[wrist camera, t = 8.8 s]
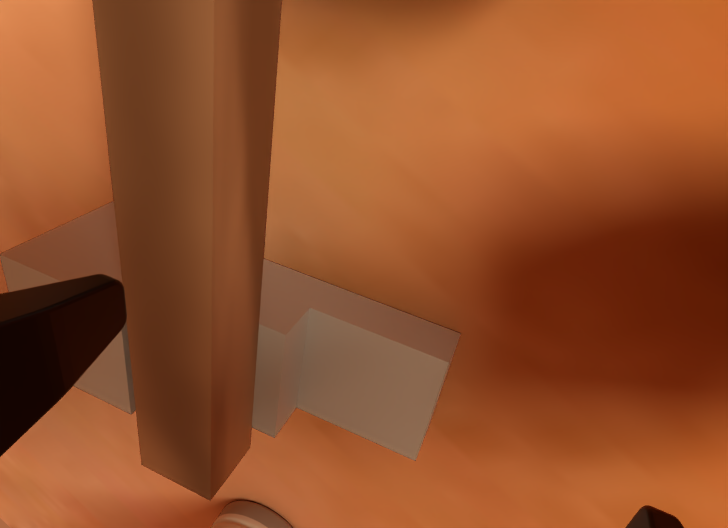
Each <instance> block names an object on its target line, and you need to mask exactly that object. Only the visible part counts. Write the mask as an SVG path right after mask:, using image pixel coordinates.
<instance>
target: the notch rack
mask: <svg viewBox="0 0 728 528" xmlns="http://www.w3.org/2000/svg"><path fill="white" fill-rule="evenodd" d="M0 259H1V263H2V267H3V271H4V275H5V279H6V283H7V287H8V291H9V292H12V291H17V290H22V289H27V288H31V287H36V286H41V285H46V284H51V283H56V282H61V281H66V280H70V279H75V278H80V277H85V276H90V275H95V274H105V275H107V276H110V277H112V278H114V279H117V280H119V281H120V282H122V275H121V265H120V256H119V246H118V237H117V228H116V218H115V209H114V202H111V203H108V204H106V205H104V206H102V207H100V208H98V209H95V210H93V211H91V212H89V213H87V214H85V215H83V216H80V217H78V218H76V219H74V220H72V221H70V222H68V223H65V224H63V225H61V226H59V227H57V228H55V229H52V230H50V231H48V232H46V233H44V234H42V235H40V236H37V237H35V238H33V239H31V240H29V241H27V242H24V243H22V244H20V245H18V246H16V247H14V248H12V249H9V250H7V251H5V252H3V253H1V254H0ZM460 335H461V333H458V332H455V331H453V330H450V329H447V328H445V327H442V326H440V325H437V324H434V323H432V322H429V321H426V320H424V319H421V318H418V317H416V316H413V315H411V314H408V313H405V312H403V311H400V310H397V309H395V308H392V307H390V306H387V305H384V304H382V303H379V302H376V301H374V300H371V299H368V298H366V297H363V296H361V295H358V294H355V293H353V292H350V291H347V290H345V289H342V288H340V287H337V286H334V285H332V284H329V283H326V282H324V281H321V280H319V279H316V278H313V277H311V276H308V275H305V274H303V273H300V272H297V271H295V270H292V269H290V268H287V267H284V266H282V265H279V264H276V263H274V262H271V261H269V260H266V259H264V261H263V275H262V289H261V303H260V317H259V331H258V346H257V360H256V374H255V388H254V402H253V416H252V428H254V429H256V430H259V431H261V432H263V433H265V434H267V435H269V436H271V437H273V438H275V437H276V435H277V434H278V432H279V431H280V430H281V428H282V427H283V425H284V424H285V423H286V421H287V420H288V418H289V417H290V416H291V414H292V413H293V411H294V410H295V409H296V408H299V409H301V410H303V411H305V412H308V413H310V414H312V415H314V416H316V417H319V418H321V419H323V420H325V421H328V422H330V423H332V424H334V425H336V426H339V427H341V428H343V429H345V430H348V431H350V432H352V433H354V434H356V435H359V436H361V437H363V438H365V439H368V440H370V441H372V442H374V443H376V444H379V445H381V446H383V447H385V448H388V449H390V450H392V451H394V452H396V453H399V454H401V455H403V456H405V457H408V458H410V459H412V460H414V461H416V458H417V456H418V453H419V451H420V448H421V446H422V443H423V440H424V438H425V435H426V433H427V430H428V427H429V425H430V422H431V419H432V416H433V413H434V410H435V407H436V404H437V401H438V399H439V396H440V393H441V390H442V387H443V384H444V381H445V378H446V375H447V373H448V370H449V367H450V364H451V361H452V358H453V355H454V352H455V349H456V347H457V344H458V341H459V338H460ZM73 386H74V387H76V388H79V389H81V390H83V391H85V392H87V393H89V394H91V395H93V396H95V397H97V398H99V399H101V400H103V401H105V402H107V403H109V404H111V405H113V406H115V407H117V408H119V409H121V410H123V411H125V412H127V413H129V414H132V413H133V412H134V411H135V410H136V407H135V398H134V388H133V379H132V369H131V360H130V350H129V341H128V332H127V322H126V323H125V325H124V327H123V329H122V330H121V331H120V332H119V334H118V335H117V336H116V337H115V338H114V339H113V341H112V342H111V343H110V344H109V345H108V346H107V347H106V349H105V350H104V351H103V352H102V353H101V354H100V356H99V357H98V358H97V359H96V360H95V361H94V362H93V364H92V365H91V366H90V367H89V368H88V369H87V370H86V372H85V373H84V374H83V375H82V376H81V377H80V379H79V380H78V381H77V382H76V383H75V384H74V385H73Z"/></svg>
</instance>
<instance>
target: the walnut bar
mask: <svg viewBox="0 0 728 528" xmlns="http://www.w3.org/2000/svg"><path fill="white" fill-rule="evenodd" d="M92 1H93V10H94V20H95V29H96V39H97V48H98V58H99V67H100V76H101V86H102V95H103V105H104V114H105V124H106V133H107V143H108V152H109V161H110V171H111V180H112V190H113V199H114V209H115V218H116V228H117V237H118V246H119V256H120V265H121V275H122V284H123V286H124V290H125V300H126V310H127V320H126V322H127V332H128V341H129V350H130V360H131V369H132V379H133V388H134V398H135V407H136V417H137V426H138V435H139V445H140V454H141V464H142V465H143V466H145V467H147V468H149V469H150V470H152V471H154V472H156V473H158V474H160V475H162V476H164V477H166V478H168V479H170V480H172V481H174V482H175V483H177V484H179V485H181V486H183V487H185V488H187V489H189V490H191V491H193V492H195V493H197V494H199V495H200V496H202V497H204V498H206V499H208V500H210V501H211V499H212V498H213V497H214V495H215V494H216V493H217V491H218V490H219V489H220V487H221V486H222V485H223V483H224V482H225V481H226V479H227V478H228V477H229V475H230V474H231V473H232V471H233V470H234V468H235V467H236V466H237V464H238V463H239V462H240V460H241V459H242V458H243V456H244V455H245V454H246V452H247V451H248V450H249V448H250V445H251V431H252V416H253V402H254V388H255V374H256V360H257V346H258V331H259V317H260V303H261V289H262V275H263V261H264V246H265V232H266V218H267V204H268V190H269V176H270V161H271V147H272V133H273V119H274V105H275V90H276V76H277V62H278V48H279V34H280V20H281V5H282V0H92Z"/></svg>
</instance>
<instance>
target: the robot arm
mask: <svg viewBox="0 0 728 528" xmlns="http://www.w3.org/2000/svg"><path fill="white" fill-rule="evenodd" d="M126 320H127V310H126V300H125V290H124V286H123V284H122V282H120V281H119V280H117V279H114V278H112V277H110V276H107V275H105V274H95V275H90V276H85V277H80V278H75V279H70V280H66V281H61V282H56V283H51V284H46V285H41V286H36V287H31V288H27V289H22V290H17V291H12V292H7V293H2V294H0V457H1V456H2V455H3V454H4V453H5V452H6V451H7V450H8V449H9V448H10V447H11V446H12V445H13V444H14V443H15V442H16V441H17V440H18V439H19V438H20V437H21V436H23V435H24V434H25V433H26V432H27V431H28V430H29V429H30V428H31V427H32V426H33V425H34V424H35V423H36V422H37V421H38V420H39V419H40V418H41V417H42V416H43V415H45V414H46V413H47V412H48V411H49V410H50V409H51V408H52V407H53V406H54V405H55V404H56V403H57V402H58V401H59V400H60V399H61V398H62V397H63V396H64V395H65V394H66V393H67V392H68V391H69V390H70V389H71V387H72V386H73V385H74V384H75V383H76V382H77V381H78V380H79V379H80V377H81V376H82V375H83V374H84V373H85V372H86V370H87V369H88V368H89V367H90V366H91V365H92V364H93V362H94V361H95V360H96V359H97V358H98V357H99V356H100V354H101V353H102V352H103V351H104V350H105V349H106V347H107V346H108V345H109V344H110V343H111V342H112V341H113V339H114V338H115V337H116V336H117V335H118V334H119V332H120V331H121V330H122V329H123V327H124V325H125V323H126ZM626 528H684V527H683V525H682V524H681V522H680V521H679V520H678V519H677V518H676V517H675V516H673V515H671V514H668V513H666V512H664V511H661V510H659V509H656V508H654V507H652V506H643V507H642V508H641V509H640V510H639V511H638V512H637V513H636V515H635V516H634V517H633V519H632V520H631V521H630V522H629V524H628V525H627V526H626Z"/></svg>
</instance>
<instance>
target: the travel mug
mask: <svg viewBox="0 0 728 528" xmlns="http://www.w3.org/2000/svg"><path fill="white" fill-rule="evenodd" d="M211 528H292V527H291V525H290V524H289V523H288V522H287V521H285V520H284V519H283V518H282V517H281V516H279V515H278V514H277V513H275V512H274V511H272V510H270V509H269V508H267V507H264V506H262V505H260V504H257V503H254V502H249V501H235V502H232V503H230V504H228V505H227V506H226V507H225V508H224V509H223V510H222V512H221V513H220V515H219V516H218V518H217V519H216V520H215V522H214V523H213V526H212V527H211Z"/></svg>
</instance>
